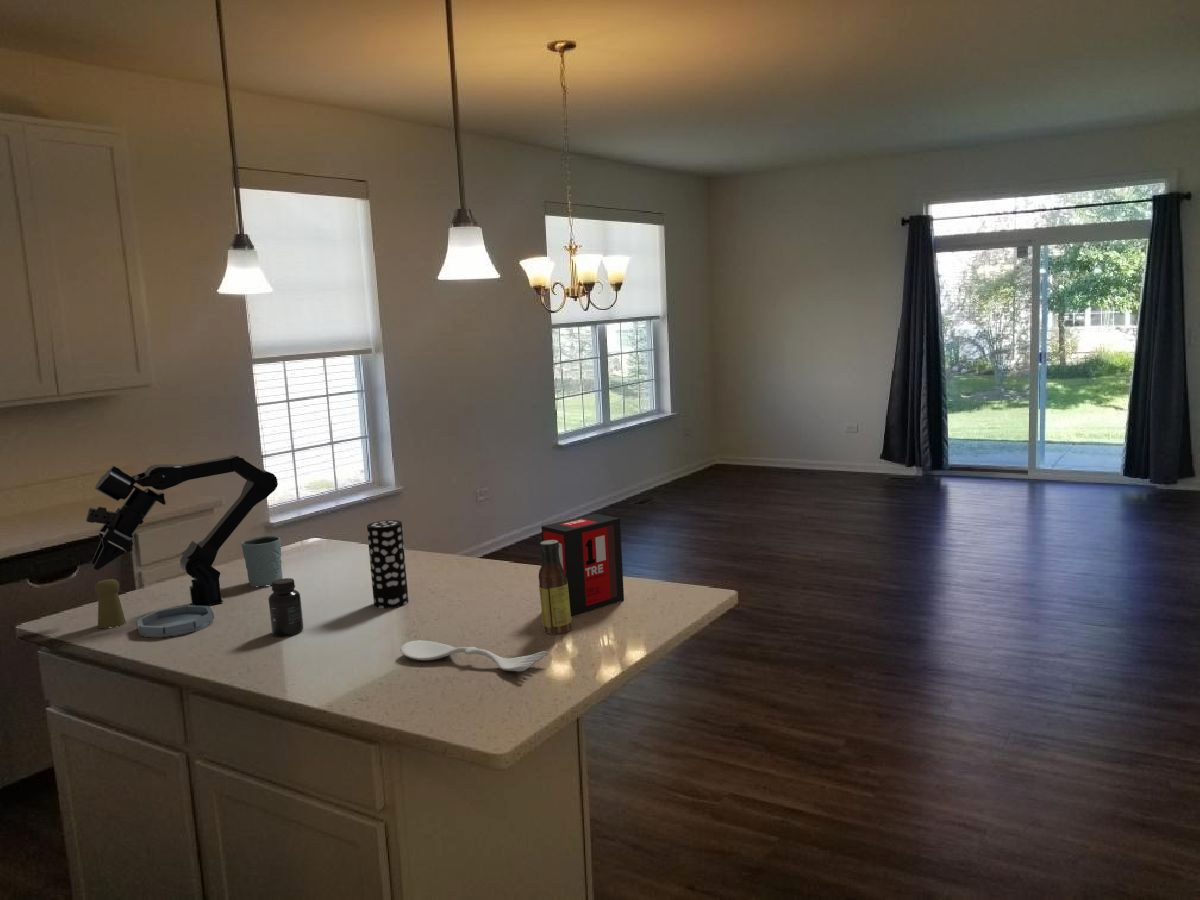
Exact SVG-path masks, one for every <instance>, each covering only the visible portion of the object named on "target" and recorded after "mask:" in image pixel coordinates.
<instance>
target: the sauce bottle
mask: <svg viewBox="0 0 1200 900" xmlns="http://www.w3.org/2000/svg"><path fill="white" fill-rule="evenodd" d="M539 547H540V548H539V549H540V550H541V562H542V564H541V566H540V568H539V571H538V583H539V585H538V587H539V597H540V607H541V617H542V619H541V620H542V625H543V630H544V632H545V633H546V634H552V635H560V634H565V633H567V632H569V631H571V629H572V617H571V612H570V602H569V592H568V582H567V577H566V574H565V571H564V570H563V568H562V565H561V563H560V558H559V550H558V548H559V542H558V541H557V540H546V541H542V540H541V542H540V543H539Z"/></svg>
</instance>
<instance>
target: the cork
mask: <svg viewBox="0 0 1200 900" xmlns="http://www.w3.org/2000/svg"><path fill="white" fill-rule="evenodd" d="M119 591H120V582H119V581H118V580H117V579H114V578H112V579H108V578H107V579H102V580H100V581H98V582H97V583H95V585H94V592H95V594H96V595H98V602H97V603H98V605H97V628H98V627H99V628H109V627H115V628H117V627H116V626H119V627H121V626H120V625H122V626H124V625H125V624H126V623H127V620H126V617H125V614H124V611H123V607H122V603H121V600H120V597H119V593H118V592H119ZM123 624H124V625H123ZM99 628H98V629H99Z"/></svg>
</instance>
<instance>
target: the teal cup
mask: <svg viewBox="0 0 1200 900" xmlns="http://www.w3.org/2000/svg"><path fill="white" fill-rule="evenodd" d="M281 543H282V542H281V537H280V536H275V535H270V536H269V535H267V536H265V535H264V536H259V537H253V538H248V539H246V540H244V541H243V540H242V542H241V543H240V545H241V549H242V555H243V559H244V561H245V562H244V563H245V569H246V570H247V571H246V572H247V578H248V579H247V580H248V584H249V586H250V585H252V586H266V585H272V582H273V581H275V580H278V579H283V570H282V569H283V568H282V562H283V561H282V558H281V557H282V547H281V545H282V544H281Z"/></svg>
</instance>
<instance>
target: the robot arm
mask: <svg viewBox="0 0 1200 900" xmlns="http://www.w3.org/2000/svg"><path fill="white" fill-rule="evenodd" d="M233 472H234V473H236V474H237V475H239V476H240V477H241V478H243V479H244V480H245V481H246V482H245V483H244V485H243V488H242V490H241V492H240V493H241V494H240V495H239V496H238V498H237V499H236V500H235V501H234V503H233V504H232V505H231V506H230V508H229V509H228V510H227V511H226V512H225V513H224V514H223V516H222V517H221V518H220V519H219V520H218V522H217V523H216V524H215V526H213V528H212V529H211V530H210V532H209V533H208V534H207V535H206V537H204V538H203V539H202V540H200V541H199V542H195V541H194V540H192V541H191V542H190V543H189V545H188V546H187V548H186V549H185V550H184V551H182V552H181V555H182V556H181V558H180V560H179V564H180V568H181V569H182V571H184V572H185V573H186V574H187V575H189V576H190V578H192V579H191V580H190V582H191V585H190V586H189V595H190V602H191V605H194V606H212V605H218V604H222V602H223V603H224V600H223V598H222V593H221V585H220V577H221V572H220V571H219V570H217V569H216V568H215V567H214V566H213V564H214V562H215V559H216V558H217V555H218V552H219V550H220V548H222V546H223V545H224V544H225V542H226V541H227V540H228V539H229V537H230V536H231V535H232V534H233V532H234V531H235V530H236V529H237V528H238V526H240V524H241V523H242V522H243V520H245V518H246V517H247V515H248V514H249V513H250V512H251V511H252V510H253V509H254V507H255V506H257V504H259V503H261V502H262V501H264V500H266V498H268V497H270V495H271V494H272V493H274V492H275V491H276V490H277V487H278V485H279V483H278V478H277V476H276V475H275V473H272V472H270V471H268V470H264V469H260V468H258V467H256V466H255V465H253V464H252V463H251V462H248V461H247V460H245V458H244V457H242V456H239V455H236V454H233V455H230V456H226V457H220V458H215V459H209V460H203V461H197V462H191V463H186V464H153V465H150V466H148V467H147V468H146V470H144V472H140V473H138V474H137V473H136V474H134V475H130V474H127V473H126V472H124V471H123V470H121V469H120V468H119V467H117V466H115V465H111V467H110V469H108V470H107V471H106V472H105V473H104V474H103V475H102V476H100V478H99V480H98V481H97V483H96V484H95V487H94V489H95V491H97V492H99V493H102V494H104V495H105V496H107V497H109V498H110V499H113V500H114V501H116V502H118V501H120V500H123V501H124V500H126V501H125V502H124V503H123V505H122V506H121V507H118V508H117V509H116V510H115V511H113V510H112V511H111V510H107V508H106V507H103V506H102V507H101V506H98V507H97V508H95V507H88V511H87V514H86V519H85V521H86V522H87V523H92V524H93V523H96V524H102V525H101V527H100V528H99V532H98V536H99V540H100V542H99V545H98V547H97V549H96V552H95V554H94V556H93V558H92V561H91V564H92V565H94V566H93V569H94V570H96V571H99V570H101V569H102V568H104V566H106V565H108V564H109V563H111V562H113V561H114V560H115V559H117V558H118V557H121V556H122V555H124V554H126V553H127V551H130V549H131V548H132V547H133V545H134V542H133V539H132V538H133V537H134V534H135V532H136V531H137V530H138V528H139V527H140V525H142V524H144V520H145V518H146V517H147V515H149V513H150V511H151V510H152V508H153V507H154V505H155V504H156V502H158V503H160V504H161V505H166V504H167V502H166V499H165V493H164V492H159V493H158V492H155V491H153V490H152V489H150V488H153V489H155V490H157V491H165V490H167V489H169V488H173V487H175V486H178V485H180V484H183V483H184V482H187V481H190V480H191V481H192V480H195V479H196V480H197V479H201V478H207V477H211V476H217V475H223V474H229V473H233ZM135 484H137V485H139V486H140V487H142V488H144V490H143V489H141V488H140V487H138V486H136V485H135ZM149 487H150V488H149Z"/></svg>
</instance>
